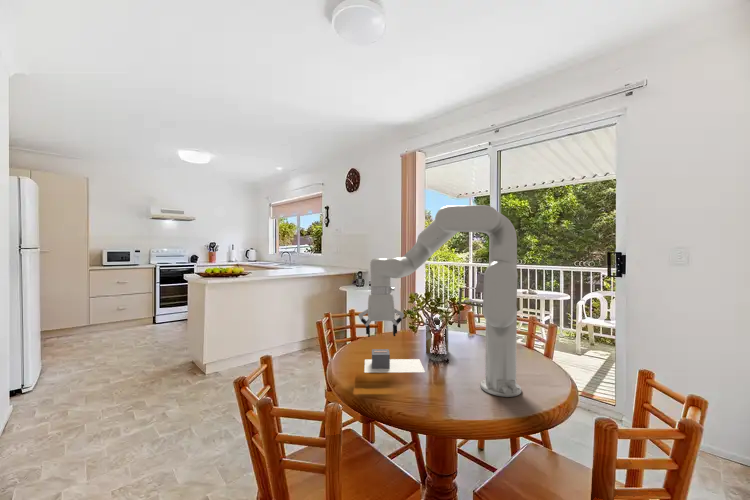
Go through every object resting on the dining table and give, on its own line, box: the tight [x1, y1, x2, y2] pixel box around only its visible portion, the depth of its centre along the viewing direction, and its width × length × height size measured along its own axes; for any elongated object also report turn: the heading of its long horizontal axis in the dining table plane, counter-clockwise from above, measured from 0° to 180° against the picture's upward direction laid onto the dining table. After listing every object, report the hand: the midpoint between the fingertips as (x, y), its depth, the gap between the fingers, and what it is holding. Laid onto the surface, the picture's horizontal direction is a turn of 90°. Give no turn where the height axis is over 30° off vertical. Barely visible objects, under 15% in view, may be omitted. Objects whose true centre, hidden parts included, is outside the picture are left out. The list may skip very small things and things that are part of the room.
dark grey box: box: [371, 348, 391, 369], centre depth 127 cm, size 7×7×5 cm
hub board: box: [363, 358, 426, 374], centre depth 128 cm, size 14×22×4 cm, turn 91°
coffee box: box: [425, 316, 449, 356], centre depth 144 cm, size 9×6×16 cm
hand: (381, 335), depth 127 cm, fingers open, 9 cm apart
